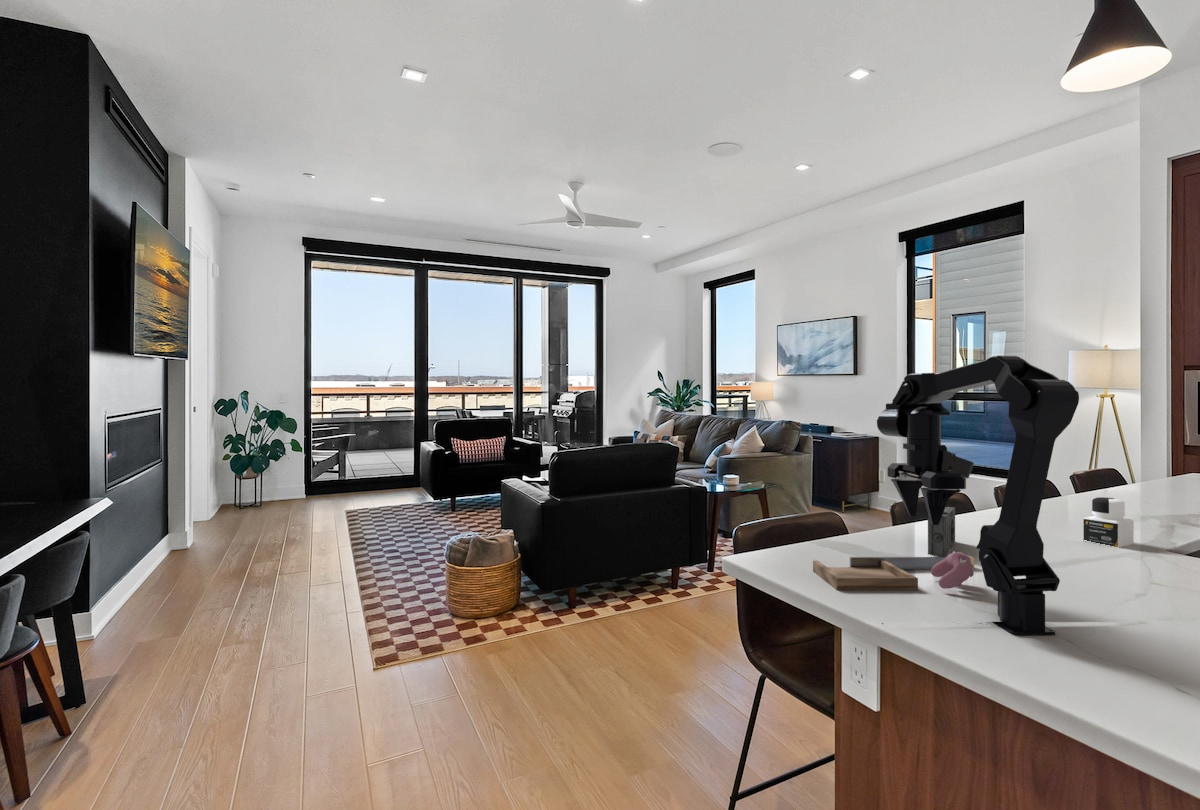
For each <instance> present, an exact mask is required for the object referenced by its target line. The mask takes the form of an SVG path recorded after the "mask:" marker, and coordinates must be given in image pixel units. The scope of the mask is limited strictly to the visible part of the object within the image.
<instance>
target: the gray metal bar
mask: <svg viewBox="0 0 1200 810" xmlns="http://www.w3.org/2000/svg"><path fill="white" fill-rule="evenodd" d="M967 555H968V556H969V557H970V560H971V564H973V568H974V569H975V557H973V556H971V555H969V554H967ZM946 557H947V556H946ZM946 557H943V556H849V567H881V561H887V562H889V563H891V564H893V565H895V566H896V567H898V568H900V569H902V570H931V569H932V568H933V566H934V565H936V564H937V563H939V562H940V561H942V560H943V559H945V558H946Z"/></svg>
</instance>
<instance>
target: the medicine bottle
mask: <svg viewBox="0 0 1200 810" xmlns="http://www.w3.org/2000/svg"><path fill="white" fill-rule="evenodd" d="M1125 505H1126V504H1125V501H1124V500H1122V499H1120V498H1114V497H1104V496H1103V497H1099V496H1098V497H1095V498H1093V499H1092V500H1091V510H1092V511H1091V514H1092V515H1093V516H1085V517H1083V541H1084V540H1087V541H1091V542H1096V543H1100V544H1099V545H1101V544H1105V545H1104V546H1106V545H1110V546H1109V547H1112V546H1114V547H1113V548H1117V547H1119V548H1122V546H1123V547H1126V546H1127V547H1128V546H1132V545H1134V542H1135V541H1134V539H1135V538H1134V536H1135V534H1134V528H1135V527H1134V525H1135V524H1134V520H1133V519H1130V518H1125V517H1126V512H1125V511H1126V506H1125ZM1091 542H1090V543H1091ZM1096 543H1095V544H1096ZM1131 544H1132V545H1131Z"/></svg>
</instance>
